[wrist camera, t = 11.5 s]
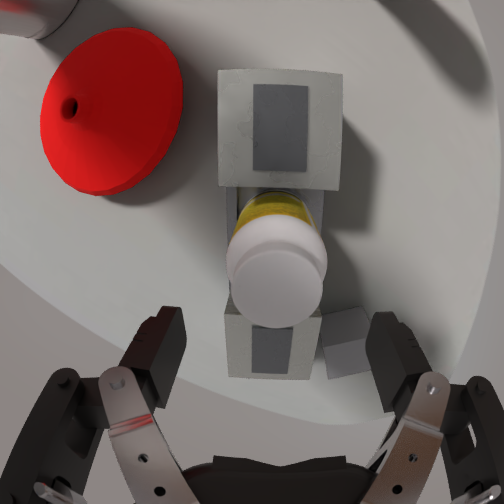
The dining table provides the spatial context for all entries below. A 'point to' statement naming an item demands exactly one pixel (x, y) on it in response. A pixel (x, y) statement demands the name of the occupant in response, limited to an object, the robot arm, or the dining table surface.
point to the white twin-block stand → (276, 188)
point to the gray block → (345, 342)
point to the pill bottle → (276, 260)
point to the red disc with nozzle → (111, 111)
